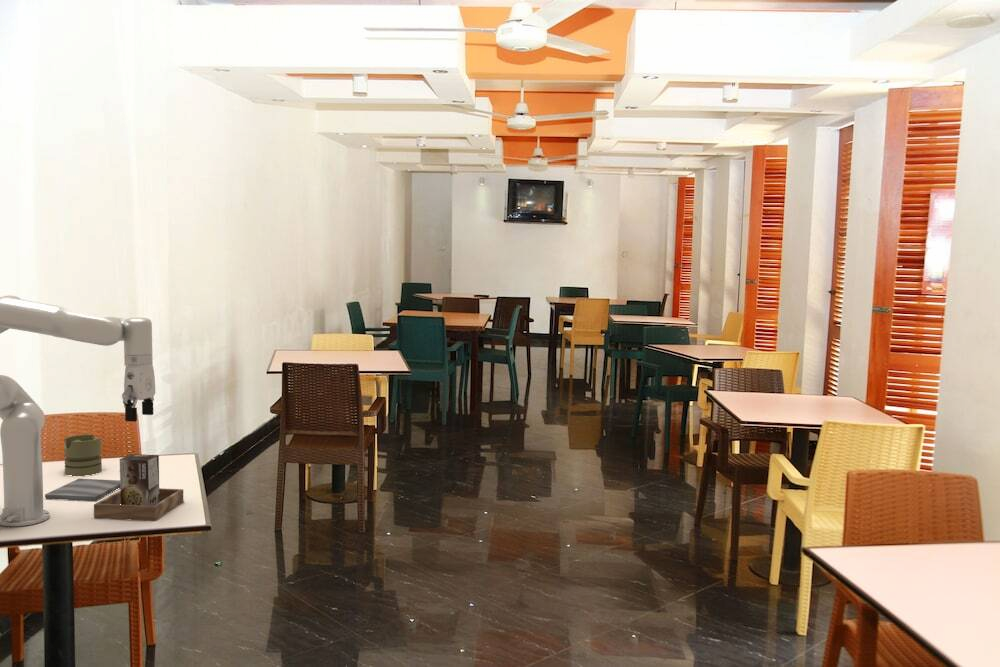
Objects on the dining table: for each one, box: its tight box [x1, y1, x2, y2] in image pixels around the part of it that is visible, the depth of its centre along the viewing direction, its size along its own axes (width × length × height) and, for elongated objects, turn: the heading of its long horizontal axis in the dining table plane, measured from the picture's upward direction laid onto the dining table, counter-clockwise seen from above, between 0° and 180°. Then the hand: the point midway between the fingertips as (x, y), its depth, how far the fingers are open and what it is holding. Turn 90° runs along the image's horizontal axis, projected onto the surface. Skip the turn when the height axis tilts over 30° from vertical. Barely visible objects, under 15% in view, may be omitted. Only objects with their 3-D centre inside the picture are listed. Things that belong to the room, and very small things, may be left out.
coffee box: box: [119, 453, 160, 506], centre depth 238 cm, size 9×6×16 cm
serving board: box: [44, 478, 120, 502], centre depth 255 cm, size 18×16×2 cm
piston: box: [63, 433, 103, 477], centre depth 277 cm, size 11×12×11 cm
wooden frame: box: [93, 487, 184, 522], centre depth 239 cm, size 18×18×4 cm
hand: (139, 417), depth 236 cm, fingers open, 9 cm apart
